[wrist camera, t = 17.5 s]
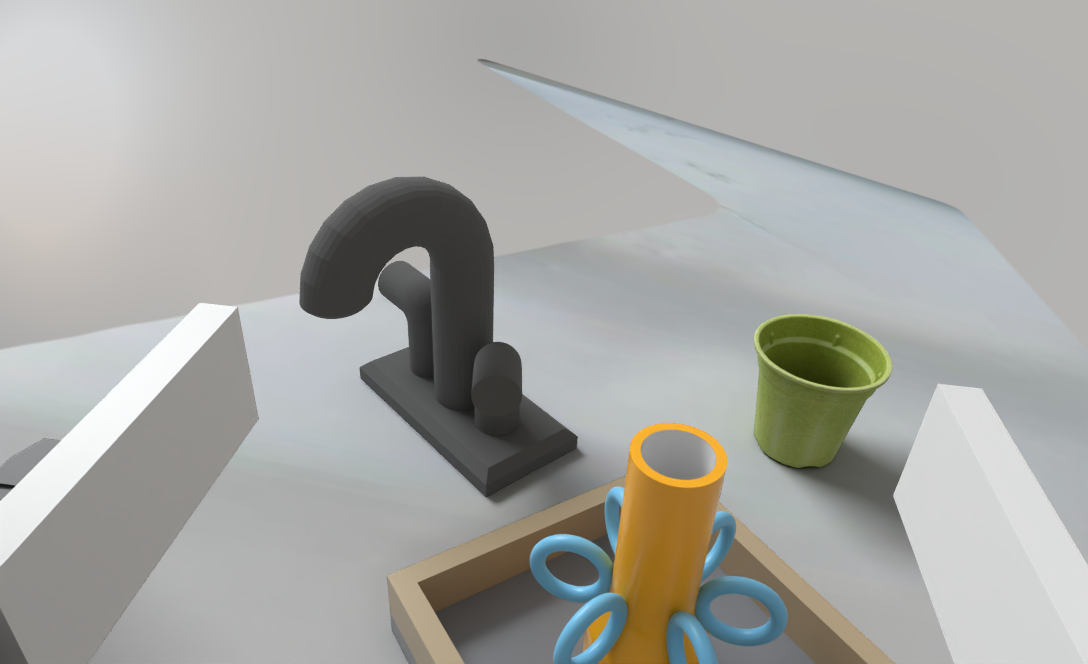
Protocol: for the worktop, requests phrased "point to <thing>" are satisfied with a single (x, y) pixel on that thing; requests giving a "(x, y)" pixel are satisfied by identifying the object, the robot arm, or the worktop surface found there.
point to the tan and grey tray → (539, 617)
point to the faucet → (435, 326)
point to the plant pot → (812, 385)
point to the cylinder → (658, 561)
